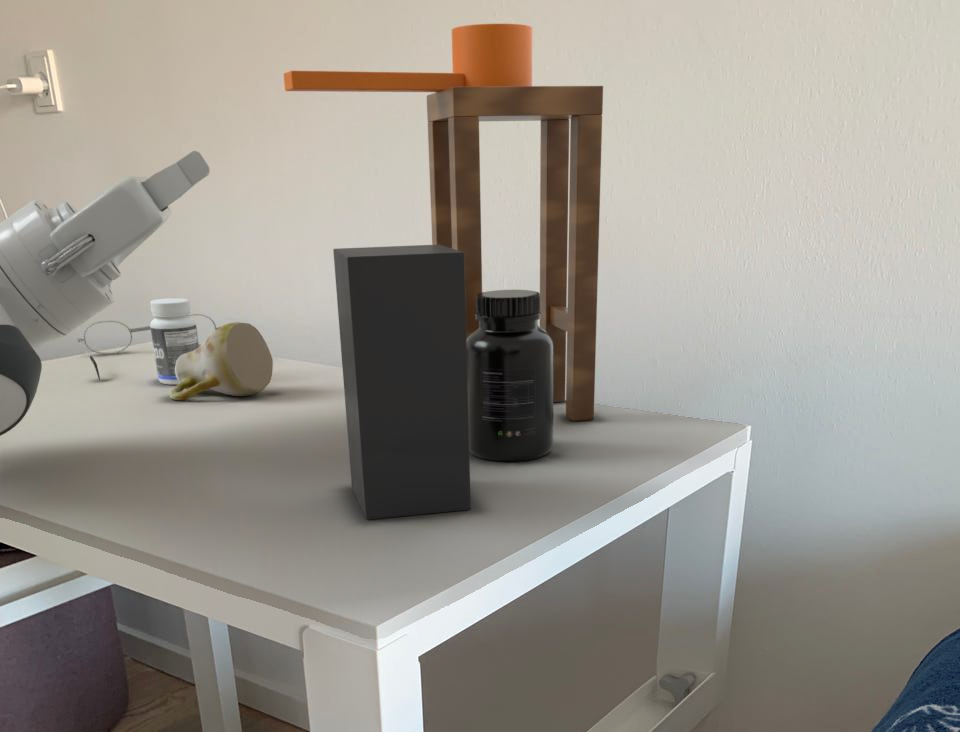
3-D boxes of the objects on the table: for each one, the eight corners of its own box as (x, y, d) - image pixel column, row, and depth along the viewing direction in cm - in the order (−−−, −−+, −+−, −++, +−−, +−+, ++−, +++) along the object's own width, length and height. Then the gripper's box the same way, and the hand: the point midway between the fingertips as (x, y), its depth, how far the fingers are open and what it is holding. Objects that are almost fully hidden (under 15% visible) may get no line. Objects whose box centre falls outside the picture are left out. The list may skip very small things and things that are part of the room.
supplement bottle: (469, 441, 83) (465, 288, 78) (551, 439, 83) (553, 286, 77) (465, 463, 77) (460, 299, 72) (554, 462, 76) (556, 297, 71)
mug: (197, 385, 108) (234, 301, 104) (258, 435, 105) (298, 350, 101) (145, 380, 101) (181, 289, 97) (208, 433, 98) (248, 342, 94)
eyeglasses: (223, 343, 132) (219, 311, 130) (259, 369, 117) (255, 334, 115) (79, 355, 125) (73, 322, 124) (97, 385, 110) (91, 348, 108)
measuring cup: (300, 86, 72) (294, 15, 70) (277, 93, 78) (271, 26, 76) (546, 89, 80) (546, 24, 78) (509, 94, 85) (509, 34, 83)
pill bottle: (156, 379, 110) (143, 299, 107) (199, 375, 112) (188, 296, 108) (161, 386, 106) (149, 304, 103) (206, 382, 108) (195, 301, 104)
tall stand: (462, 430, 86) (452, 86, 75) (438, 406, 95) (426, 95, 84) (594, 419, 89) (603, 85, 78) (558, 397, 98) (562, 94, 86)
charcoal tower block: (366, 520, 65) (347, 256, 58) (351, 489, 71) (333, 248, 64) (471, 509, 66) (464, 252, 60) (448, 481, 73) (439, 244, 66)
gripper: (4, 232, 67) (174, 113, 66) (48, 221, 85) (181, 127, 85) (70, 315, 70) (233, 201, 69) (99, 287, 88) (228, 197, 87)
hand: (204, 161), depth 77 cm, fingers open, 8 cm apart
